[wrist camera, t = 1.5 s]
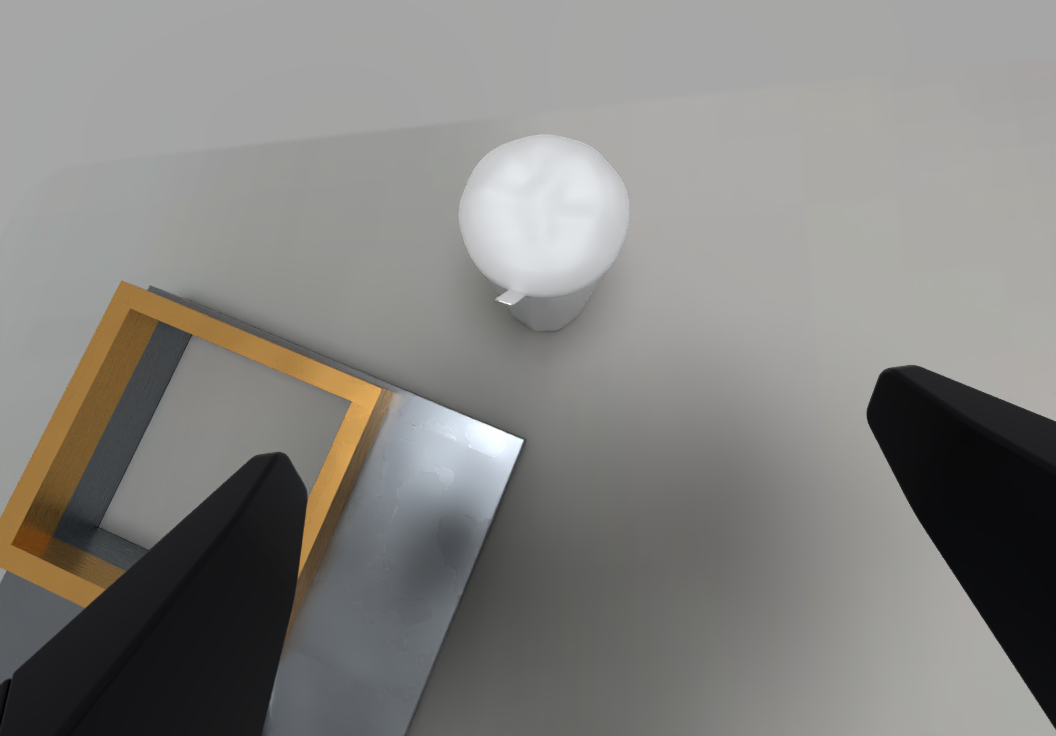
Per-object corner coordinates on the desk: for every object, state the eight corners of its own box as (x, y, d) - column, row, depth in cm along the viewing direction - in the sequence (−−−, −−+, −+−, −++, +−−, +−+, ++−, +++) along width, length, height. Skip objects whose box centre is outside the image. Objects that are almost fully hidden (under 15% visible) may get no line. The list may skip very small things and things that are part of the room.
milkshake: (471, 348, 22) (407, 274, 12) (510, 230, 22) (480, 68, 13) (575, 380, 22) (599, 331, 12) (612, 260, 22) (664, 117, 12)
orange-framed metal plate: (342, 892, 19) (297, 991, 16) (-18, 708, 21) (-131, 763, 17) (526, 439, 21) (521, 440, 18) (185, 298, 23) (119, 273, 19)
